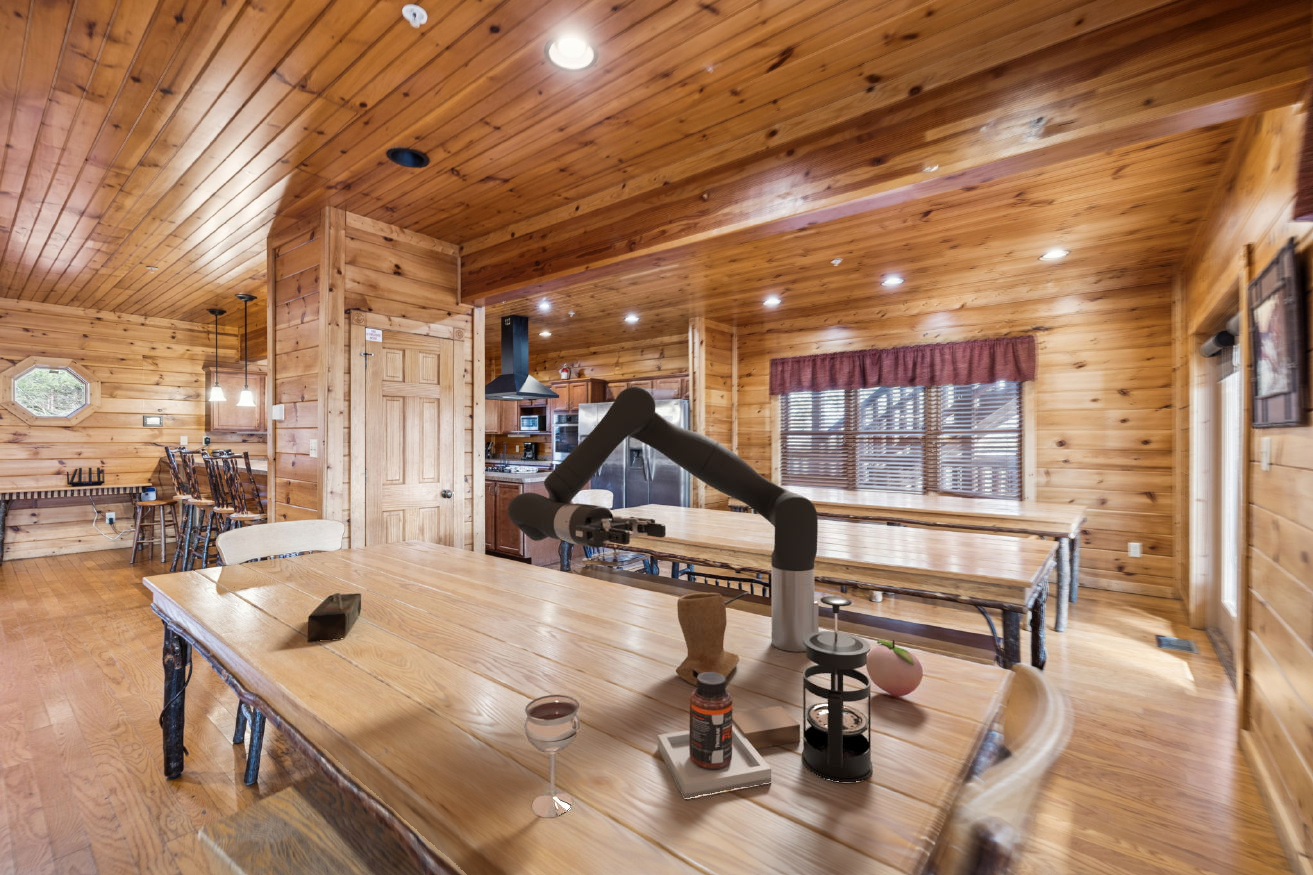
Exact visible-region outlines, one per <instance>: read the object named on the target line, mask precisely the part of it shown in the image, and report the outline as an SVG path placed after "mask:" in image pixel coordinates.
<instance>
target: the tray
mask: <svg viewBox="0 0 1313 875" xmlns="http://www.w3.org/2000/svg"><path fill="white" fill-rule="evenodd" d="M689 732H690V729H688V730H681V731H675V732H668V733H663V734H662V733H661V734H658V735H657V749H658V752H659V753H660V755H661V758H662V759H663V761H664V763H665V765H666V767H667V769H668V770H670V771H669V773H670V772H671V773H670V774H672V775H671V777H672V776H673V777H672V779H673V778H674V779H675V781H676V782H675V781H674V782H675V784H676V783H677V784H676V786H677V785H678V786H677V788H678V787H679V788H678V790H679V789H680V790H679V792H680V791H681V792H682V794H683V796H684V798H690V797H695V796H698V795H703V794H710V793H711V794H712V793H715V792H720V791H724V790H731V789H734V788H741V787H750V786H754V785H761V784H763V783H769V782H771V783H772V767H771V766H770V765H769V764H768V763H767V761H766V760H765V759H764V757H763V756H761V754H760V753H759V752H758V751H757V750H756V749H755V748H754V747H753V746H752V745H751V744H750V742H749V741H748V740H747V739H746V738H745V736H744V735H743V734H742V733H741V732H740V730H739V729H738V728H737V727H736V725H735V724H734V723H732V759H731V762H730V763H729V764H728V765H727V766H725V767H723V768H720V769H706V768H702V767H700V766H698V765H696V764H695V763H693V762H692V760H691V758H690V751H689V736H690V734H689ZM674 779H673V780H674ZM681 792H680V793H681ZM682 794H681V795H682ZM683 796H682V797H683ZM684 798H683V799H684Z"/></svg>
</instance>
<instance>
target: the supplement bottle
mask: <svg viewBox="0 0 1313 875" xmlns="http://www.w3.org/2000/svg"><path fill="white" fill-rule="evenodd" d="M726 682H727V681H726V678H725V677H724V676H723V675H721V674H719V673H714V672H706V673H701V674H699V675H698V676H697V685H696V688H695V689H693V691H691V693H690V697H689V730H690V732H689V734H690V736H689V751H690V758H691V760H692V762H693V763H695V764H696V765H698V766H700V767H702V768H706V769H720V768H723V767H725V766H727V765H728V764H729V763H730V762H731V759H732V713H733V697H732V695H731V693H730V692H729V691H728V690H727V689H726V688H727V684H726Z"/></svg>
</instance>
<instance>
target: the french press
mask: <svg viewBox="0 0 1313 875" xmlns="http://www.w3.org/2000/svg"><path fill="white" fill-rule="evenodd" d="M820 602H821V603H822V604H824V605H827V606H831V607H832V613H833V614H834V631H832V630H831V631H829V630H828V631H827V630H826V631H818V632H814V633H810V634H807V635H806V636H804V638H803V643H804V645H805V646H806V651H805V652H806V655H805V656H806V657H807V659H808V660H810V662H812V663H814V665H811V666H808V667H806V668H805V669H804V671H802V672H803V674H802V675H803V676H802V677H803V678H802V684H803V685H802V688H803V689H802V692H803V693H802V694H803V695H802V696H803V697H802V700H803V701H802V703H803V704H802V707H803V708H802V709H803V710H802V712H803V714H802V717H803V719H802V722H803V723H802V725H803V728H802V729H803V732H802V736H803V738H802V739H803V744H802V745H803V750H802V752H801V760H802V763H803V765H804V766H805V768H806V769H807V770H808V771H809V770H810V771H809V772H811V773H812V772H813V773H814V775H815V774H816V775H815V776H817V775H818V776H817V777H819V776H820V777H819V778H821V779H823V778H825V779H824V780H826V779H830V780H833V781H839V782H856V781H862V780H864V781H866V780H868V777H869V776H870V777H871V775H872V774H871V773H873V768H874V767H873V762H872V759H871V758H872V757H871V754H872V753H871V752H872V751H871V750H872V748H871V746H872V742H871V741H872V740H871V738H872V737H871V734H872V733H871V732H872V731H871V729H872V728H871V727H872V725H871V723H872V720H871V718H872V717H871V715H872V714H871V713H872V712H871V704H872V703H871V701H872V700H871V678H870V677H868V675H867V674H865V673H863V672H862V671H860V670H858V669H860V668H863V667H864V666H866V663H867V656H868V654H869V652H870V651H871V645H870V643H869V642H868V641H867V640H866V639H864V638H862V637H860V636H857V635H854V634H850V633H845V632H839V631H838V614H840V607H847V606H850V605H852V604H853V602H852V600H850V599H849V598H846V597H842V596H837V595H829V596H822V597H821V598H820ZM822 674H824V675H825V674H827V675H828V674H830V689H829V688H826V687H822V686H819V685H817V684H815V683H813V682H811V681H810V680H809V679H808V678H810V677H812V676H815V675H822ZM844 676H846V677H849V678H851V679H854V680H857V681H859V682H860V683H862V684H863V685H864V686H865V687H863V688H860V689H856V690H849V691H847V690H844ZM806 690H807V691H808V693H809V692H810V693H811V694H813V695H815V696H817V697H819V698H822V699H826V700H827V702H821V703H820V702H819V703H814V704H812V705H809V706H808V707H807V708H806V706H807V705H806V700H807V698H806V697H807V696H806V695H807V694H806V693H807V692H806ZM865 699H868V700H867V701H868V703H867V704H868V706H867V709H868V711H867V712H868V713H867V716H868V717H867V716H866V715H865V714H864V713H863V712H861V711H859V710H858V709H856V708H854V707H851V706H849V705H845V704H844V702H845V703H848V702H849V703H850V702H858V701H859V702H860V701H862V700H865ZM806 721H807V722H806ZM807 723H808V724H809V726H808V727H806V725H807ZM866 731H867V732H868V733H867V734H868V735H867V736H868V737H867V736H866V735H865V734H864V733H866ZM822 748H827V752H823V751H821V750H819V749H822ZM843 750H844V751H847V752H850V753H851V754H853V755H854V756H853V755H852V756H843V754H844V753H843ZM813 773H812V774H813ZM870 777H869V778H870ZM865 779H866V780H865ZM862 782H863V781H862Z"/></svg>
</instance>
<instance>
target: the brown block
mask: <svg viewBox="0 0 1313 875" xmlns="http://www.w3.org/2000/svg"><path fill="white" fill-rule="evenodd" d="M732 723H734V724H735V725H736V727H737V728H738V729H739V730H740V732H741V733H742V734H743V735H744V736H745V738H746V739H747V740H748V741H749V742H750V744H751V745H752V746H753V747H754V748H755V750H756V748H758V749H762V748H761V747H764V748H767V747H766V746H769V747H773V746H772V745H775V746H780V744H781V745H785V744H793V743H798V742H801V724H800V723H799V722H798V721H797V720H796V719H795V718H794V717H793V716H792V715H791V714H790V713H788V712H787V711H786V709H784V708H783V707H782V706H781V705H779V706H777V705H776V706H770V707H765V708H764V707H763V708H758V709H751V710H743V711H738V712H736V711H735V712H732ZM792 742H793V743H792ZM770 745H771V746H770ZM759 747H760V748H759Z"/></svg>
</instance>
